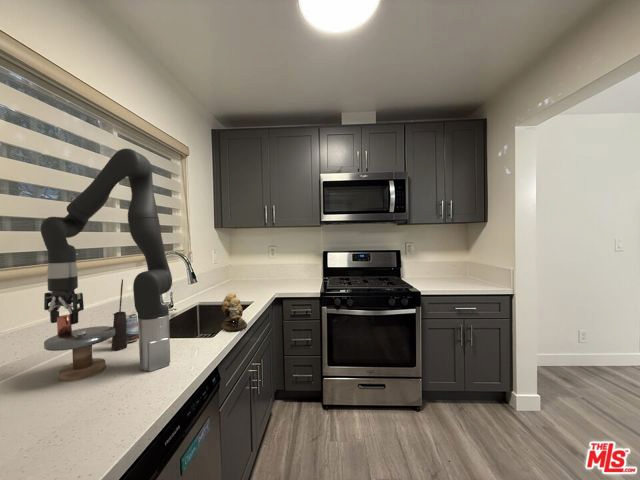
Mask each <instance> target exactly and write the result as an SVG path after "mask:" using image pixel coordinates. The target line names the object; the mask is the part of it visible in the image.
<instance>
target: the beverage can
mask: <svg viewBox="0 0 640 480" xmlns="http://www.w3.org/2000/svg"><path fill="white" fill-rule="evenodd" d="M126 324H127V327H126V329H127V332H126V333H127V343H132V342H135V341H137V340H139V330H138V314H136V313H135V312H131V313H126Z"/></svg>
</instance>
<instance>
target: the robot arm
mask: <svg viewBox="0 0 640 480" xmlns="http://www.w3.org/2000/svg"><path fill="white" fill-rule="evenodd" d="M126 178H127V179H128V181H129V185H130V190H131V199H130V202H129V203H130V204H129V206H128V210H127V222H128V223H127V224H128V228H129V233H130V236H131V238H132V240H133V241H134V243H135V244H136V245H137V247H138V249H139V250H140V251H141V252H142V255H143V256H144V258H145V262H146V267H147V270H146V271H141V272H140V273H138V274H137V275H136V276H135V277H134V279H133V285H132V287H133V288H132V289H133V301H134V309H135V312H136V313H137V321H138V330H139V338H138V354H139V356H138V357H139V369H140V371H148V372H153V371H157V370H159V369H161V368H165V367H168V366H170V363H171V345H170V344H171V343H170V341H171V339H170V315H169V314H170V309H169V306H168V305H166V304H163V303H162V301H161V295H164V294H166V293H168V292H169V291H170V290H171V288H172V286H173V276H172V273H171V269H170V266H169V263H168V260H167V257H166V251H165V246H164V242H163V237H162V229H161V223H160V218H159V214H158V209H157V203H156V198H155V193H154V184H153V183H154V181H153V180H154V179H153V169H152V164H151V162H150V160H149V159H148V158H147V157H146V156H144V155H143V154H142V153H140V152H137V151H136V150H135V149H131V148H122V149H119V150H118V151H116V152H115V153H114V154H113V155H112V156H111V157H110V159H108V161H107V163H106V164H105V165H104V166H103V168H102V169H101V170H100V172H99V173H98V174H97V175H96V176H95V178H94V179H93V180H92V182H91V183H90V184H89V185H88V186H87V187H86V188H85V189H84V190H83V191H81V193H80V194H78V196H76V197H75V198H74V199H73V200H72V201H70V203H68V205H67V206H66V211H67V213H68V214H67V215H66V216H63V217H62V216H49V217H47V218H44V220H43V221H42V223H41V225H40V234H41V238H42V240H43V243H44V246H45V248H46V250H47V269H46V272H47V273H46V275H47V292H45V293H44V297H43V298H44V300H43V301H44V303H43V304H44V305H43V307H44V308H43V309H44V311H48V313H49V315H50V316H49V319H50V320H49V321H50V324H57V317H59V316H60V311H59V310H60V308H61V307H63V308H64V309H65V310H67V312H68V313H69V314H68V315H69V322H70V324H71V325H76V324H78V323H79V312H81V311H84V309H85V307H84V306H85V305H84V296H83V295H84V294H83V292H78V293H77V292H75V291H76V289H78V287H79V280H78V274H79V273H78V265H77V253H76V252H77V250H76V247H75V246H74V245H71V244H69V243H68V239H69V238H73V237H75V236H77V235H78V234H81V232H82V231H83V230H84V228H85V227H86V226H87V224H88V222H89V220H90V219H91V218H92V217H93V216H94V215H96V213H98V212H99V211H100V210H101V209H102V208H103V207H104V206H105V205H106V203H107V202H108V199H109V197H110V195H111V193H112V191H113V190H114V188H115V187H116V186H117V184H119V183H120V182H121V181H123V180H124V179H126ZM78 305H79V306H78Z"/></svg>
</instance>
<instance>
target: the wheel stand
mask: <svg viewBox="0 0 640 480" xmlns="http://www.w3.org/2000/svg"><path fill="white" fill-rule="evenodd" d="M71 350H72V351H71V352H72V353H71V354H72V363H70V364H68V365H65V366H63V367H62V368H61V369H60V370H58V373H57V374H58V380H59V381H60V382H75V381H79V380H84V379H87V378H90V377H93V376H95V375H98V374H100V373H102V372H103V371H104V370H105V369H106V368H107V363H106V362H107V361H106V359H105V358H100V357H95V358H93V345H90V346H86V347H82V348H77V349H71Z"/></svg>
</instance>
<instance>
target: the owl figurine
mask: <svg viewBox="0 0 640 480" xmlns="http://www.w3.org/2000/svg"><path fill="white" fill-rule="evenodd" d="M221 311H222V313H223V315H224V316H226V317H225V319H224V321H223V323H221V329H222V330H223V329H224V330H227V331H226V332H228V331H231V332H232V331H234V332H236V331H243V330H245V329H246V328H247V326H248V324H247V321H245V319H244V318H243V312H244V311H243V307H242V305H241V300H240V298H238V297H237V295H236V293H235V292H229V293H228V294H226V296H225V298H224V299H223V300H222V302H221ZM233 321H236V322H233ZM224 330H223V331H224Z"/></svg>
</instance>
